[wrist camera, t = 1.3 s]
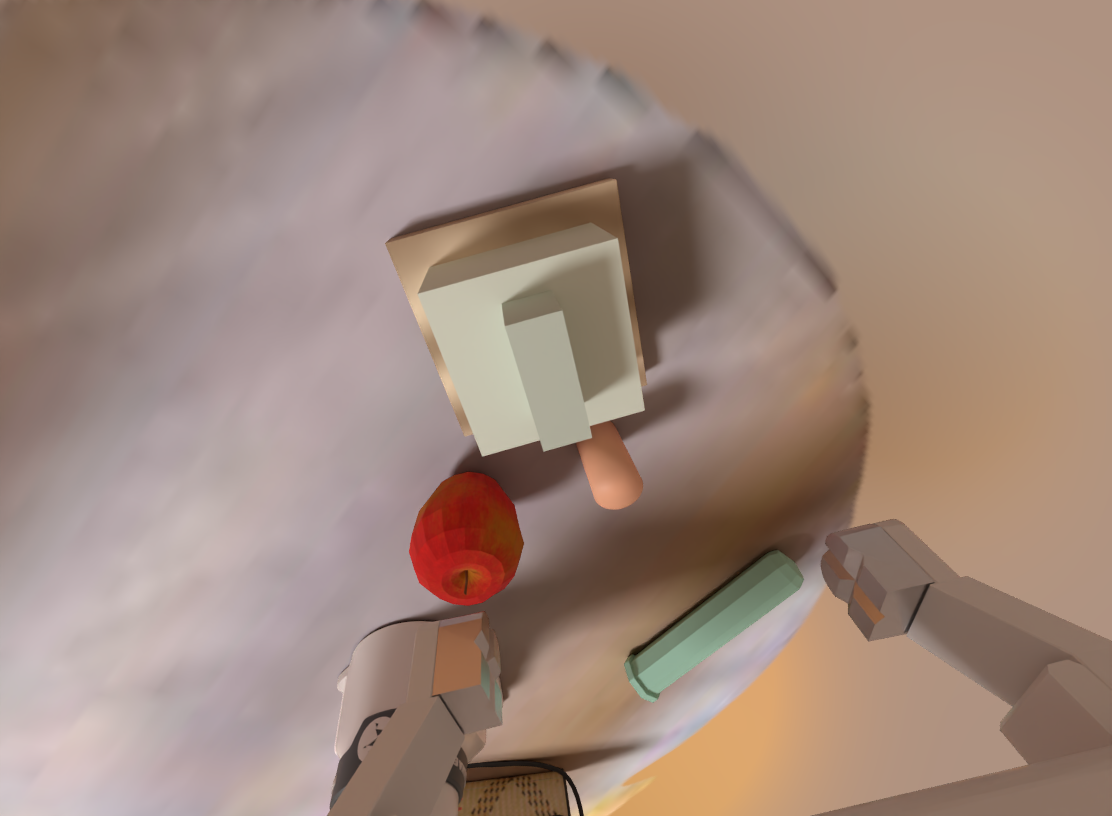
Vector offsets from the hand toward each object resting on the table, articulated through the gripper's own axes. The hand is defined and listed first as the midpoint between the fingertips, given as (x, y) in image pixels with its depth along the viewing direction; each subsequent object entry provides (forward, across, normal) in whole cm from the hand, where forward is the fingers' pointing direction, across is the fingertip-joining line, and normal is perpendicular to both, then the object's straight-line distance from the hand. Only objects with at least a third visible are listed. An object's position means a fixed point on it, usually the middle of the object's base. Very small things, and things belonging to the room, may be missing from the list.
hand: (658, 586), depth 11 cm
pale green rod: (+27, +13, -46) cm, 55 cm away
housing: (+26, -2, -3) cm, 26 cm away
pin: (+27, +2, -16) cm, 32 cm away
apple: (+27, -11, -19) cm, 35 cm away
